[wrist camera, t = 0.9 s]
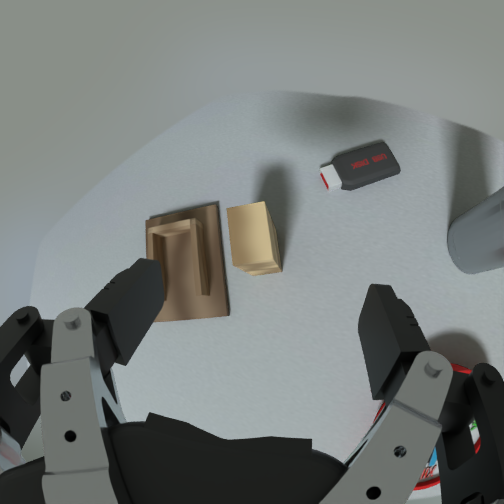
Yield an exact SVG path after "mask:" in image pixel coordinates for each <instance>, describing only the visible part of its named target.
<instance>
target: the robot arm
mask: <svg viewBox="0 0 504 504" xmlns="http://www.w3.org/2000/svg"><path fill="white" fill-rule="evenodd" d="M448 249H449V252H450V256H451V258H452V260H453V262H454V263H455V265H456V266H457V267H458V268H459V269H460V270H461V271H463V272H464V273H467V274H476V273H480V272H485V271H489V270H494V269H498V268H502V267H504V187H502V188H501V189H499V190H498V191H497V192H495V193H494V194H492V195H491V196H489V197H488V198H487V199H485V200H484V201H482V202H481V203H479V204H478V205H476V206H475V207H473V208H472V209H470V210H469V211H467V212H466V213H464V214H462V215H461V216H459V217H458V218H456V219H455V220H454V221H453V223H452V224H451V226H450V229H449V232H448ZM163 304H164V287H163V280H162V272H161V265H160V262H159V261H158V260H152V259H144V258H140V259H138V260H137V261H136V262H135V263H134V264H133V265H132V266H131V267H130V268H129V269H126V270H124V271H122V272H120V273H118V274H117V275H116V276H115V277H114V278H113V279H112V280H111V281H110V283H108V284H107V285H106V286H105V287H104V289H102V290H101V291H100V292H99V293H98V294H97V295H96V296H95V297H94V298H93V299H92V300H91V301H90V302H89V303H88V304H87V305H86V306H85V307H84V308H71V309H68V310H65V311H63V312H62V313H60V314H59V315H58V316H57V317H56V319H55V320H45V319H41V316H40V314H39V311H38V309H37V308H35V307H32V306H26V307H23V308H21V309H18V310H17V311H15V312H14V313H13V314H12V315H11V316H10V317H9V318H8V319H7V320H6V321H5V322H4V323H3V325H2V326H1V327H0V504H405V503H406V501H407V500H408V498H409V496H410V495H411V493H412V491H413V489H414V488H415V486H416V484H417V482H418V480H419V478H420V476H421V475H422V473H423V471H424V469H425V467H426V464H427V462H428V460H429V458H430V456H431V454H432V452H433V449H434V447H435V448H436V455H437V461H438V469H439V477H440V486H441V497H442V504H504V381H503V379H502V377H501V375H500V373H499V372H498V371H497V369H495V368H494V367H493V366H491V365H489V364H487V363H479V364H477V365H476V366H475V367H474V368H473V370H472V371H471V373H470V374H468V373H463V372H458V371H453V369H452V366H451V364H450V362H449V361H448V360H447V359H446V358H445V357H444V356H442V355H441V354H439V353H437V352H433V351H431V350H430V347H429V345H428V343H427V341H426V339H425V337H424V335H423V332H422V330H421V328H420V326H418V322H417V320H416V318H414V317H415V316H414V314H413V312H412V310H411V308H410V307H409V306H408V305H407V304H406V303H405V302H404V301H403V300H402V299H397V297H396V295H395V293H394V291H393V289H392V287H391V286H390V285H382V284H371V285H370V286H369V289H368V292H367V295H366V298H365V302H364V305H363V308H362V311H361V314H360V317H359V322H358V333H359V337H360V341H361V345H362V350H363V354H364V359H365V363H366V368H367V372H368V377H369V382H370V387H371V393H372V398H373V400H384V401H385V406H384V408H383V409H382V411H381V412H380V414H379V415H378V417H377V418H376V420H375V421H374V423H373V424H372V426H371V427H370V429H369V430H368V432H367V433H366V434H365V436H364V437H363V439H362V440H361V441H360V443H359V444H358V445H357V447H356V448H355V449H354V451H353V452H352V453H351V454H350V455H349V457H348V458H347V459H346V460H345V461H344V462H343V463H342V462H341V461H339V460H337V459H336V458H334V457H332V456H330V455H328V454H326V453H323V452H320V451H318V450H314V449H312V439H302V438H285V437H273V436H269V437H260V438H249V439H234V440H227V439H222V438H220V437H217V436H215V435H213V434H210V433H208V432H206V431H204V430H202V429H199V428H197V427H195V426H193V425H191V424H189V423H187V422H183V421H179V420H175V419H172V418H168V417H164V416H161V415H157V414H154V413H151V412H149V414H148V417H147V419H146V421H145V422H144V421H140V422H127V421H126V419H125V417H124V414H123V411H122V408H121V404H120V400H119V396H118V392H117V388H116V383H115V379H114V374H113V371H112V368H111V367H112V366H113V364H114V362H115V363H118V364H121V365H124V366H126V365H127V364H128V362H129V360H130V359H131V357H132V355H133V354H134V352H135V350H136V349H137V347H138V346H139V344H140V342H141V341H142V339H143V337H144V336H145V334H146V333H147V331H148V330H149V328H150V326H151V325H152V323H153V322H154V320H155V319H156V317H157V315H158V314H159V312H160V311H161V309H162V307H163ZM23 355H25V356H26V358H27V360H28V361H29V363H30V366H29V368H28V369H27V370H26V372H25V373H24V375H23V376H22V377H21V379H20V380H19V382H18V383H17V385H16V386H15V388H14V386H13V385H12V383H11V381H10V374H11V371H12V369H13V368H14V366H15V365H16V364H17V362H18V361H19V360H20V359H21V357H22V356H23ZM40 414H41V428H42V440H43V449H44V456H43V457H41V458H38V459H35V460H33V461H30V462H27V463H26V462H25V460H24V458H23V457H22V456H21V450H22V448H23V446H24V444H25V442H26V440H27V438H28V436H29V434H30V432H31V430H32V429H33V427H34V425H35V423H36V421H37V420H38V418H39V416H40ZM474 420H475V421H476V425H477V428H478V432H479V436H480V440H481V443H480V448H479V450H478V452H477V453H476V451H475V447H474V443H473V439H472V435H471V431H470V427H469V425H470V424H471V423H472V422H473V421H474Z"/></svg>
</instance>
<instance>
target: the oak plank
mask: <svg viewBox="0 0 504 504" xmlns="http://www.w3.org/2000/svg"><path fill="white" fill-rule="evenodd" d="M227 216H228V226H229V235H230V244H231V253H232V262H233V266H235V267H237V268H239V269H241V270H243V271H245V272H247V273H248V274H250V275H252V276H257V275H264V274H270V273H277V272H282V267H281V260H280V254H279V247H278V240H277V234H276V228H275V226H274V223H273V221H272V218H271V216H270V213H269V211H268V209H267V206H266V204H265V201H263V202H257V203H252V204H247V205H241V206H236V207H231V208H227Z"/></svg>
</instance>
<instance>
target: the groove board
mask: <svg viewBox="0 0 504 504" xmlns="http://www.w3.org/2000/svg"><path fill="white" fill-rule="evenodd" d="M146 257H147V259H152V260H158V261H159V262H160V265H161V272H162V280H163V287H164V304H163V307H162V309H161V311H160V312H159V314H158V315H157V317H156V319H155V320H154V322H164V321H178V320H190V319H201V318H212V317H222V316H229V308H228V300H227V292H226V283H225V274H224V265H223V255H222V246H221V236H220V226H219V215H218V206H217V205H216V204H215V205H210V206H205V207H201V208H196V209H192V210H187V211H183V212H178V213H174V214H170V215H166V216H162V217H157V218H153V219H149V220H146Z"/></svg>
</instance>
